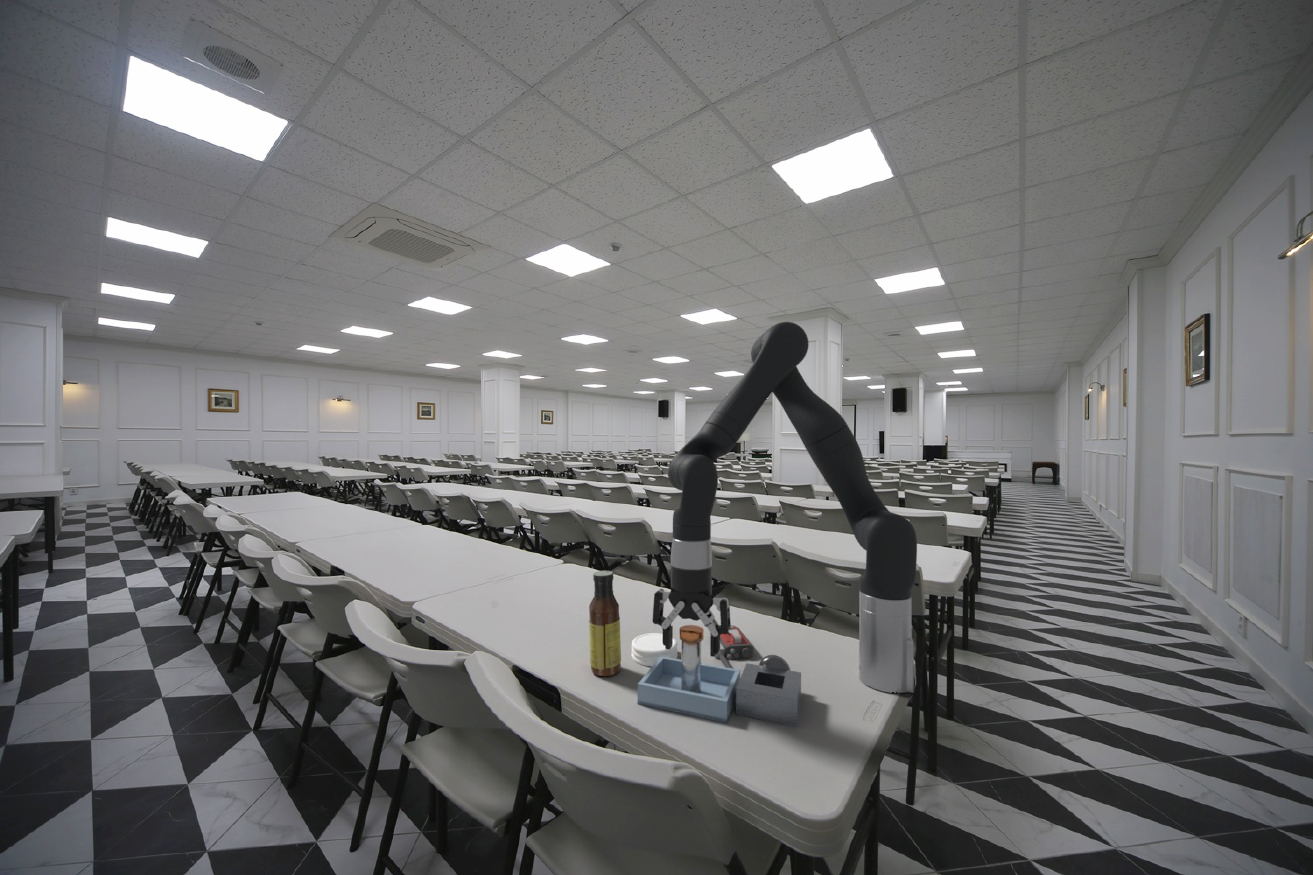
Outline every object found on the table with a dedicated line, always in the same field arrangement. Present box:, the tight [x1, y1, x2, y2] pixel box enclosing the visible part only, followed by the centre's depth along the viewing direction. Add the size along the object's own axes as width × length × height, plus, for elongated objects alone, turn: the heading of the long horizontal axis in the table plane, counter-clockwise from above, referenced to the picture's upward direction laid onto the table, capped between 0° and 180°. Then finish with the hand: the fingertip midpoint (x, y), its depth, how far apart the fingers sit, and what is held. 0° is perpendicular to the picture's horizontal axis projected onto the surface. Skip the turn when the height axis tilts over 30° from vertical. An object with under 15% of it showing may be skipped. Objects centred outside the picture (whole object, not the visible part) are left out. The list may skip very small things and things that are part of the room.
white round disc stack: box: [630, 632, 678, 668], centre depth 103 cm, size 10×10×4 cm
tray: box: [637, 656, 741, 724], centre depth 87 cm, size 16×12×4 cm
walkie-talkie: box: [709, 625, 754, 668], centre depth 105 cm, size 9×4×20 cm
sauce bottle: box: [588, 570, 622, 677], centre depth 97 cm, size 6×6×20 cm
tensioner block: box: [735, 654, 802, 728], centre depth 85 cm, size 10×12×6 cm
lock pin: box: [679, 624, 704, 694], centre depth 87 cm, size 4×4×12 cm
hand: (690, 651), depth 87 cm, fingers open, 8 cm apart
